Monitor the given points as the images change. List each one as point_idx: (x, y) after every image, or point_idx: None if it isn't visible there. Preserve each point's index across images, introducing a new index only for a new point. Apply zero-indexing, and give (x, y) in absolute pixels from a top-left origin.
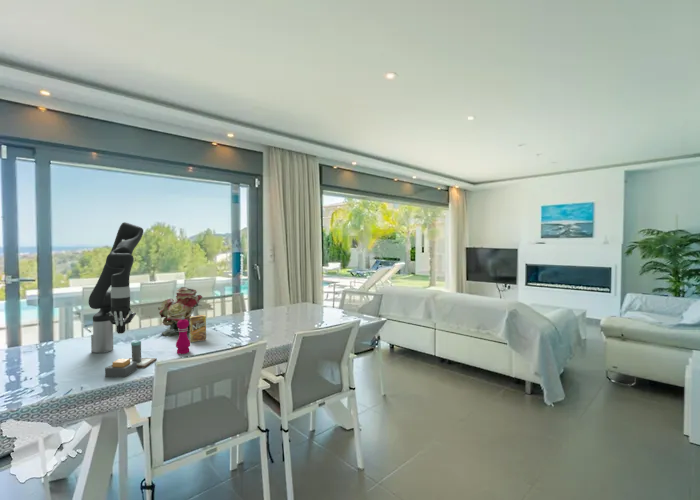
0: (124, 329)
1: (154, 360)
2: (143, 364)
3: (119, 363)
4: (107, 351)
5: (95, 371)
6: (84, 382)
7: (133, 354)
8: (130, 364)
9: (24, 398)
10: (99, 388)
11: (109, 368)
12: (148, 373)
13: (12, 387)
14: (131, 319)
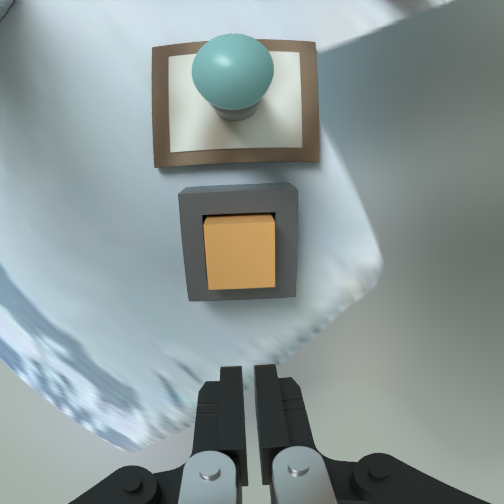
0: (296, 408)
1: (315, 63)
2: (302, 139)
3: (251, 285)
4: (9, 6)
5: (98, 220)
6: (154, 333)
7: (230, 115)
8: (289, 240)
9: (98, 416)
10: None
11: (212, 300)
12: (368, 229)
13: (3, 353)
14: (446, 496)
